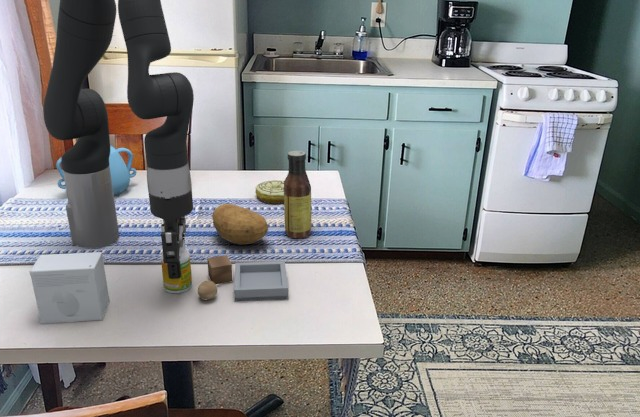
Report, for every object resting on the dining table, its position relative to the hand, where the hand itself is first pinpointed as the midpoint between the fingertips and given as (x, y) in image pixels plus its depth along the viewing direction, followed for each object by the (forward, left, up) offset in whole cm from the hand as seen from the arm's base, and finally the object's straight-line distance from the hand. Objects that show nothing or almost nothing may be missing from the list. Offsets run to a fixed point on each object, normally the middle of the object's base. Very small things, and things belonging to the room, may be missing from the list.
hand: (177, 266), depth 104 cm
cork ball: (+6, -4, -3) cm, 8 cm away
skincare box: (-17, -7, -5) cm, 19 cm away
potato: (+12, +18, -5) cm, 22 cm away
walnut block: (+8, +3, -5) cm, 9 cm away
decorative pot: (-26, +49, -5) cm, 56 cm away
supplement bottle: (0, 0, -5) cm, 5 cm away
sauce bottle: (+25, +21, -5) cm, 33 cm away
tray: (+16, -1, -5) cm, 16 cm away
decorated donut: (+21, +43, -5) cm, 48 cm away
